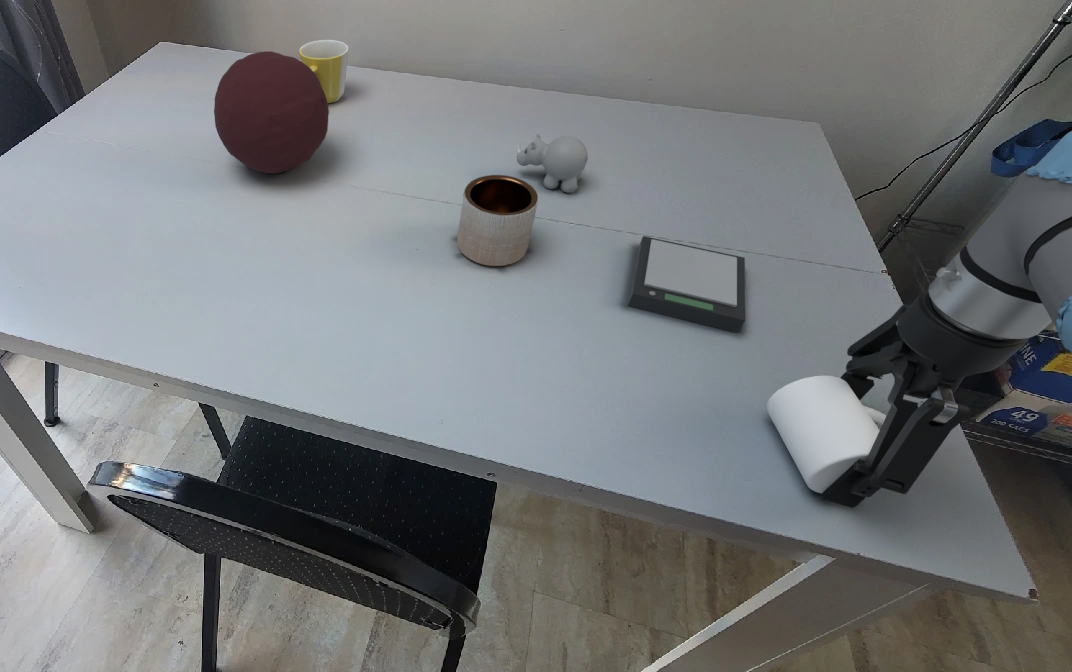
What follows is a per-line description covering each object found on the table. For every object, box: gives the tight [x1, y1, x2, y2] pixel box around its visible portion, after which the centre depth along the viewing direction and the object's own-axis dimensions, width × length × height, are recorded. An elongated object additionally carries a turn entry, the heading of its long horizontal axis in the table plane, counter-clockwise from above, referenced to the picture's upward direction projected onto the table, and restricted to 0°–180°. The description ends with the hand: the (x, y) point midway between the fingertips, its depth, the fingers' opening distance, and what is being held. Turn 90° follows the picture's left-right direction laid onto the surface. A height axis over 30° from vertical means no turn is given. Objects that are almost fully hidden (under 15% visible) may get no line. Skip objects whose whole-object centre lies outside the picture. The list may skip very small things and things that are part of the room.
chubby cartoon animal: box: [516, 133, 589, 194], centre depth 103 cm, size 7×12×8 cm, turn 61°
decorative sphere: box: [213, 50, 330, 175], centre depth 105 cm, size 20×20×20 cm
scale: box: [627, 235, 746, 334], centre depth 85 cm, size 14×14×3 cm
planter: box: [456, 174, 539, 267], centre depth 90 cm, size 11×11×10 cm
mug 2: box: [766, 375, 887, 494], centre depth 63 cm, size 12×10×8 cm
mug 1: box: [298, 39, 350, 104], centre depth 126 cm, size 14×10×10 cm
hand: (831, 455), depth 66 cm, fingers closed on mug 2, 11 cm apart
